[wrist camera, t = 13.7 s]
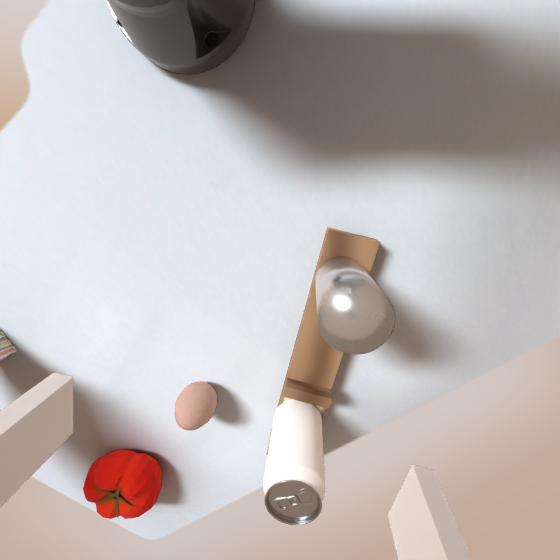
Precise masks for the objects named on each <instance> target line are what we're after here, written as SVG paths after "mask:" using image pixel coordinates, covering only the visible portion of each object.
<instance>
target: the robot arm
mask: <svg viewBox="0 0 560 560" xmlns="http://www.w3.org/2000/svg"><path fill="white" fill-rule="evenodd" d="M107 3H108V6H109V8H110V11H111V13H112V15H113V17H114V19H115V21H116V23H117V25H118V26H119V28H120V29H121V31H122V32H123V34H124V35H125V36H126V38H127V39H128V40H129V41H130V43H131V44H132V45H133V46H134V47H135V48H136V49H137V50H139V51H140V52H141V53H142V54H143V55H144V56H145V57H146V58H148V59H149V60H150V61H151V62H153V63H154V64H156V65H157V66H159V67H161V68H163V69H165V70H168V71H171V72H174V73H179V74H196V73H201V72H205V71H208V70H210V69H212V68H214V67H216V66H218V65H219V64H221V63H222V62H224V61H225V60H226V59H227V58H228V57H229V56H230V55H231V54H232V53H233V52H234V51H235V50H236V48H237V47H238V46H239V44H240V43H241V41H242V39H243V38H244V36H245V34H246V32H247V29H248V27H249V24H250V21H251V18H252V14H253V10H254V4H255V0H107ZM72 433H73V377H71V376H67V375H63V374H59V373H55V372H54V373H52V374H51V375H49V376H48V377H47V378H45V379H44V380H43V381H41V382H40V383H38V384H37V385H36V386H34V387H33V388H31V389H30V390H29V391H27V392H26V393H24V394H23V395H22V396H20V397H19V398H17V399H16V400H15V401H13V402H12V403H11V404H9V405H8V406H6V407H5V408H4V409H2V410H1V411H0V508H1V506H3V504H5V502H6V501H7V500H8V499H9V498H10V497H11V496H12V495H13V494H14V493H15V492H16V491H17V490H18V489H19V488H20V487H21V486H22V485H23V484H24V483H25V482H26V481H27V480H28V479H29V478H30V477H31V476H32V475H33V474H34V473H35V472H36V471H37V470H38V468H39V467H40V466H41V465H42V464H43V463H44V462H45V461H46V460H47V459H48V458H49V457H50V456H51V455H52V454H53V453H54V452H55V451H56V450H57V449H58V448H59V447H60V446H61V445H62V444H63V443H64V442H65V441H66V440H67V439H68V438H69V437H70V435H71V434H72ZM388 517H389V522H390V526H391V530H392V534H393V539H394V543H395V547H396V551H397V556H398V560H472V558H471V556H470V554H469V551H468V549H467V547H466V545H465V542H464V540H463V538H462V535H461V533H460V531H459V528H458V526H457V524H456V521H455V519H454V517H453V514H452V512H451V510H450V507H449V505H448V503H447V500H446V499H445V496H444V494H443V491H442V489H441V487H440V484H439V482H438V480H437V477H436V475H435V473H434V470H432V469H429V468H425V467H422V466H418V465H412V467H411V468H410V471H409V473H408V475H407V477H406V479H405V481H404V483H403V485H402V487H401V489H400V491H399V493H398V495H397V498H396V499H395V502H394V504H393V506H392V508H391V510H390V512H389V514H388Z"/></svg>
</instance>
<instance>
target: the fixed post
mask: <svg viewBox="0 0 560 560" xmlns="http://www.w3.org/2000/svg"><path fill="white" fill-rule="evenodd" d="M315 287H316V302H317V317H318V327H319V331H320V333H321V335H322V337H323V339H324V340H325V341H326V342H327V343H328V344H329V345H330V346H331V347H332V348H334V349H336V350H338V351H340V352H343V353H346V354H354V355H355V354H365V353H368V352H371V351H373V350H375V349H377V348H379V347H380V346H381V345H382V344H384V343H385V342H386V340H387V339H388V338H389V336H390V335H391V333H392V331H393V327H394V323H395V314H394V310H393V307H392V304H391V302H390V301H389V299H388V298H387V297H386V295H385V294H384V293H383V292H382V290H381V289H380V288H379V287H378V285H377V284H376V283H375V282H374V280H373V279H372V278H371V277H370V275H369V274H368V273H367V272H366V270H365V269H364V268H363V267H362V265H361V264H360V263H359V262H358V261H356V260H355V259H353V258H350V257H347V256H336V257H333V258H330V259H328V260H327V261H325V262H324V263H323V264H322V265H321V266H320V267H319V269H318V271H317V273H316V277H315Z"/></svg>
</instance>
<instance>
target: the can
mask: <svg viewBox="0 0 560 560" xmlns="http://www.w3.org/2000/svg"><path fill="white" fill-rule="evenodd" d="M324 471H325V470H324V451H323V433H322V418H321V414H320V412H319V411H318V409H317V408H316V407H315V406H314V405H312V404H309V403H305V402H301V401H297V400H294V399H291V400H288V401H285V402H283V403H282V404H281V405H279V406H278V408H277V409H276V411H275V414H274V419H273V425H272V431H271V437H270V443H269V449H268V455H267V461H266V467H265V474H264V481H263V489H264V494H265V506H266V508H267V510H268V512H269V513H270V514H271V515H272V516H273V517H274V518H275V519H277V520H278V521H280V522H283V523H285V524H289V525H303V524H307V523H309V522H311V521H313V520H314V519H316V518H317V517H318V515H319V514H320V512H321V508H322V501H323V499H324V495H325V472H324Z"/></svg>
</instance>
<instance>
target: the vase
mask: <svg viewBox="0 0 560 560" xmlns="http://www.w3.org/2000/svg"><path fill="white" fill-rule="evenodd" d="M16 351H17V350H16V349H15V347H14V346H12V343H11V342H10V341H9V340H8V339H7V338H6V336H5V334H4V333H3V332H2V331H1V329H0V361H1V360H3V359H4V358H6V357H8V356H9V355H11V354H13V353H15V352H16Z"/></svg>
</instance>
